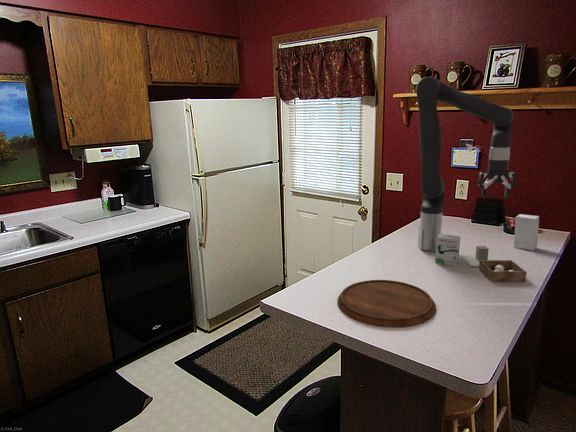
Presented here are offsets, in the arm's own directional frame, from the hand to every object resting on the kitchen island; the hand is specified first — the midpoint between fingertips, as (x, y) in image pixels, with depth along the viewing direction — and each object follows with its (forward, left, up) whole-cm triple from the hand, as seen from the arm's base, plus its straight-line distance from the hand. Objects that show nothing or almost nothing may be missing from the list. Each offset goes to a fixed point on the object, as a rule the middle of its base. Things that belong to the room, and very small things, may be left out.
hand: (495, 197), depth 172 cm
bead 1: (-7, -25, -25) cm, 36 cm away
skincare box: (+20, +11, -26) cm, 34 cm away
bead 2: (-4, -20, -25) cm, 33 cm away
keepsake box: (-4, -23, -26) cm, 35 cm away
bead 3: (-2, -25, -25) cm, 36 cm away
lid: (-6, -8, -25) cm, 27 cm away
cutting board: (-51, -45, -27) cm, 73 cm away
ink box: (-20, -9, -26) cm, 34 cm away
